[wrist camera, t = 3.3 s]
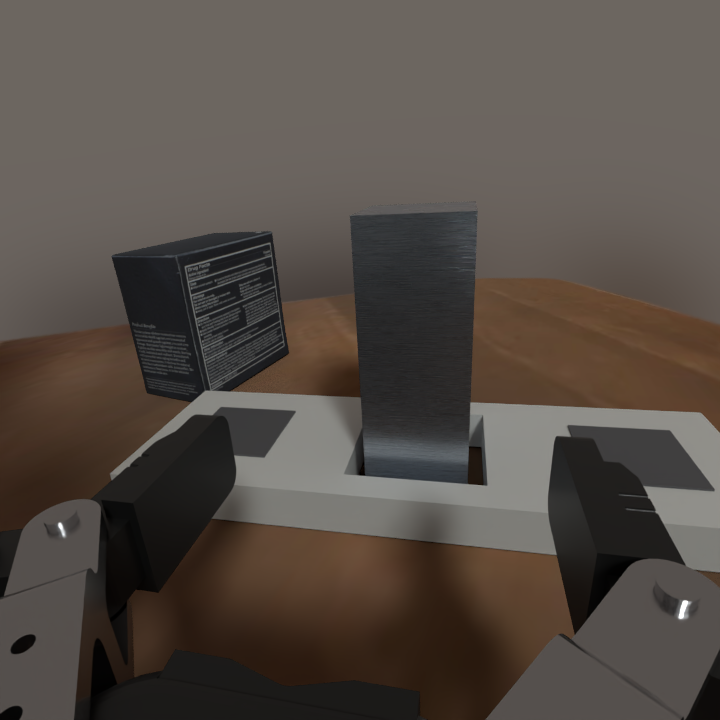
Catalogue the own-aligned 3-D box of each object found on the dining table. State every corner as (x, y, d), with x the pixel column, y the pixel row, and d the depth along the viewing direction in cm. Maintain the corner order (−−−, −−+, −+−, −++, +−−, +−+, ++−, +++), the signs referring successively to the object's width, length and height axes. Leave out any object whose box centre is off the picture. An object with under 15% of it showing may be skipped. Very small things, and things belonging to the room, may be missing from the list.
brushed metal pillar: (366, 501, 23) (350, 215, 18) (382, 448, 27) (372, 205, 22) (466, 510, 22) (477, 210, 17) (466, 454, 26) (475, 201, 21)
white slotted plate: (120, 508, 23) (109, 472, 22) (210, 418, 31) (205, 389, 30) (799, 580, 17) (817, 534, 16) (692, 446, 25) (701, 410, 24)
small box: (232, 346, 44) (213, 230, 40) (291, 353, 42) (277, 230, 38) (140, 393, 35) (105, 251, 32) (208, 407, 33) (178, 253, 29)
